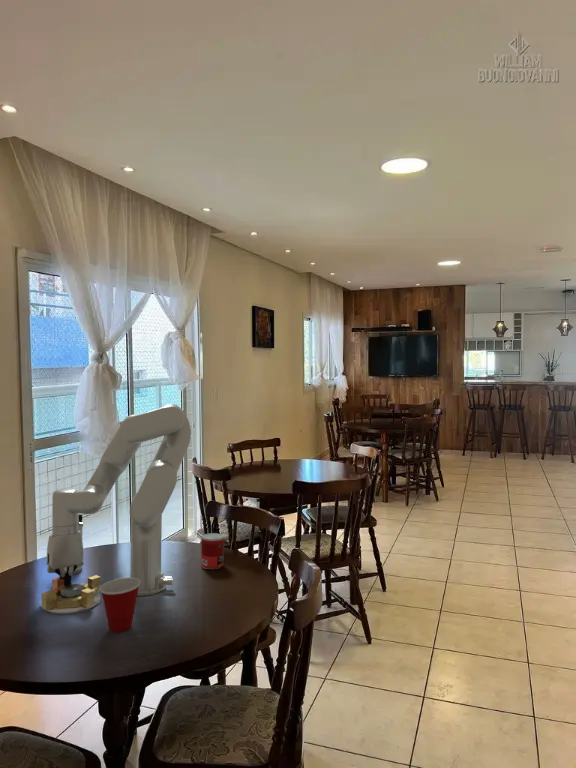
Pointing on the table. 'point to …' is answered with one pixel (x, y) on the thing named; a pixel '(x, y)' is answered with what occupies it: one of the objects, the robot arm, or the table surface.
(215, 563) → the canned food
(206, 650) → the table surface
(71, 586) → the flange
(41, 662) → the table surface
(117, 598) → the plastic cup
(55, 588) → the locking ring
